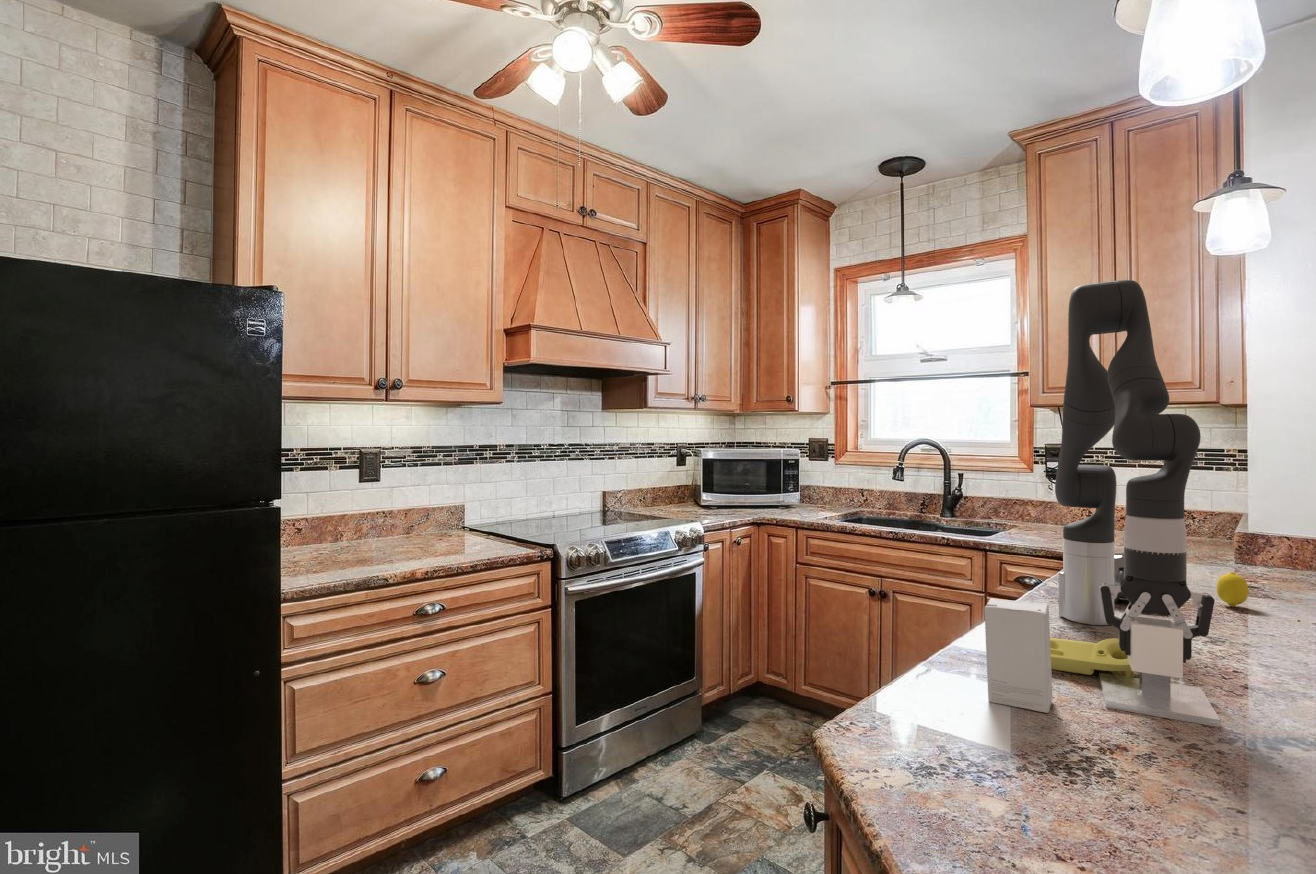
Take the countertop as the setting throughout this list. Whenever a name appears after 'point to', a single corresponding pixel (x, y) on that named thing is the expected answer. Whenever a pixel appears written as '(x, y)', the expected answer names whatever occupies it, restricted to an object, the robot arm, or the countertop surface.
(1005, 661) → the skincare box
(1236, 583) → the lemon
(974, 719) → the countertop surface
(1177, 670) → the square tube sleeve
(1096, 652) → the plastic component
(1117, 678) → the duct stub
